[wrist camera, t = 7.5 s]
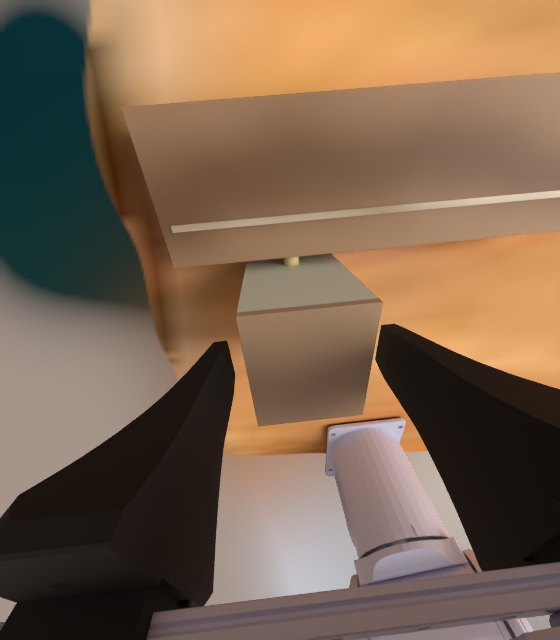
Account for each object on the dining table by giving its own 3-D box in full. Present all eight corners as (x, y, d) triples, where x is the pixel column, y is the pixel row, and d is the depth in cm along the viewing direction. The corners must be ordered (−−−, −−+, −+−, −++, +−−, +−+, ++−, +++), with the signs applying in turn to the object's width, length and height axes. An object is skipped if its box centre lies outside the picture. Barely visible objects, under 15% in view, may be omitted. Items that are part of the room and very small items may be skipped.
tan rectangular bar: (512, 224, 14) (561, 231, 11) (188, 255, 13) (173, 269, 11) (569, 90, 11) (651, 64, 8) (150, 124, 10) (119, 106, 8)
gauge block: (324, 330, 17) (362, 414, 11) (259, 337, 17) (258, 426, 10) (327, 242, 14) (385, 288, 7) (246, 250, 13) (232, 303, 7)
